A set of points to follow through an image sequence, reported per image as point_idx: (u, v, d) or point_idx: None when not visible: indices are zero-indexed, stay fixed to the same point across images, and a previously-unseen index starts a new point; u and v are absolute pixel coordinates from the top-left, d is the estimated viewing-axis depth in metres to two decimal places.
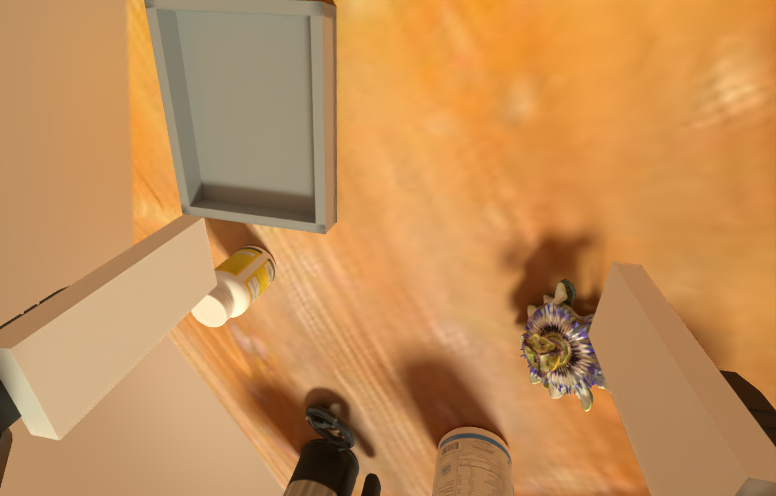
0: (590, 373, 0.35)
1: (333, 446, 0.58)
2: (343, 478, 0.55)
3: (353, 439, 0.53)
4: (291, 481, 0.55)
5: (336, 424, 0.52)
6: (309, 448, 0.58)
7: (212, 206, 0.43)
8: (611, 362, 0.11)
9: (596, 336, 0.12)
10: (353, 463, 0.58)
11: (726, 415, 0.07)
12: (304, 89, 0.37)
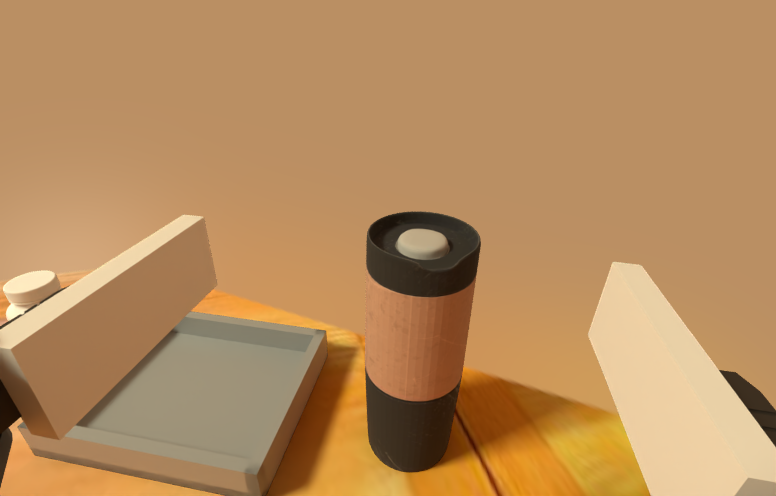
0: None
1: None
2: None
3: None
4: None
5: None
6: None
7: None
8: (611, 362, 0.11)
9: (596, 336, 0.12)
10: None
11: (726, 415, 0.07)
12: (197, 446, 0.33)
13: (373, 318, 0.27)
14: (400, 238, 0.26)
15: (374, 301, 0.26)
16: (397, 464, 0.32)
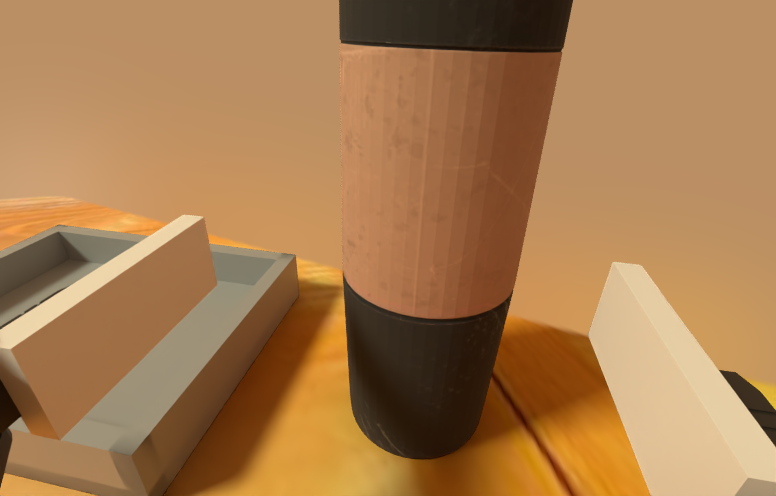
0: None
1: None
2: None
3: None
4: None
5: None
6: None
7: (37, 253, 0.30)
8: (611, 362, 0.11)
9: (596, 336, 0.12)
10: None
11: (726, 415, 0.07)
12: None
13: (352, 145, 0.14)
14: None
15: (353, 100, 0.13)
16: (397, 445, 0.19)
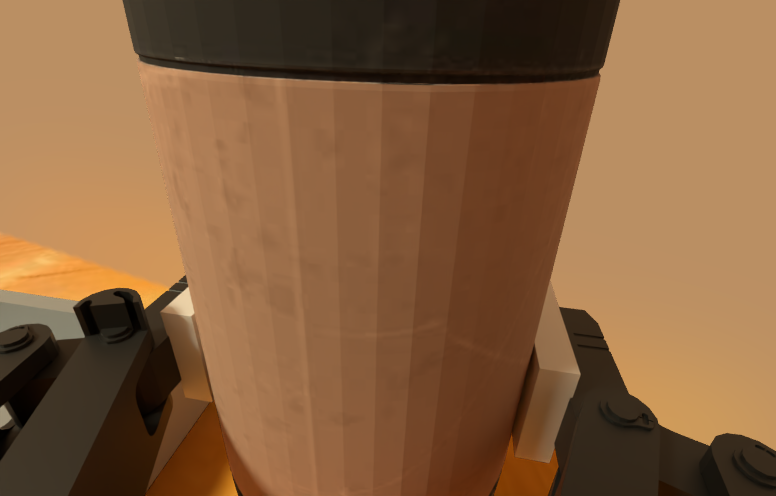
0: None
1: None
2: None
3: None
4: None
5: None
6: None
7: None
8: None
9: None
10: None
11: (546, 331, 0.09)
12: None
13: None
14: None
15: (163, 175, 0.06)
16: None
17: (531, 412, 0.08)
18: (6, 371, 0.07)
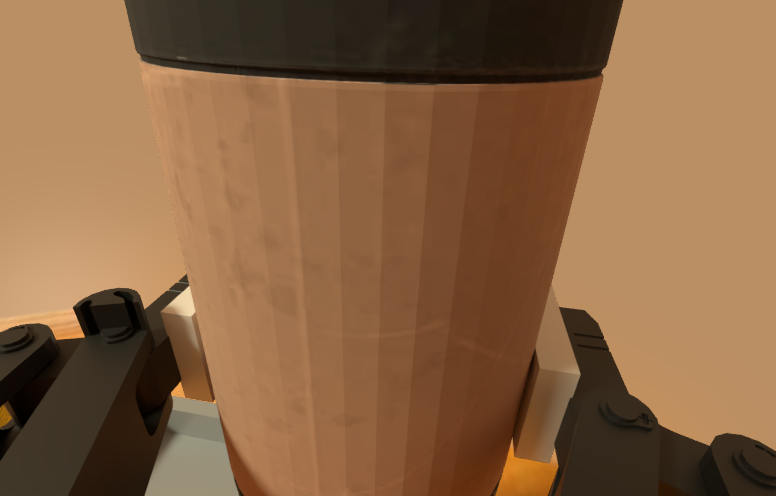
0: None
1: None
2: None
3: None
4: None
5: None
6: None
7: None
8: None
9: None
10: None
11: (546, 331, 0.09)
12: None
13: (183, 257, 0.07)
14: None
15: (164, 174, 0.06)
16: None
17: (531, 412, 0.08)
18: (6, 371, 0.07)
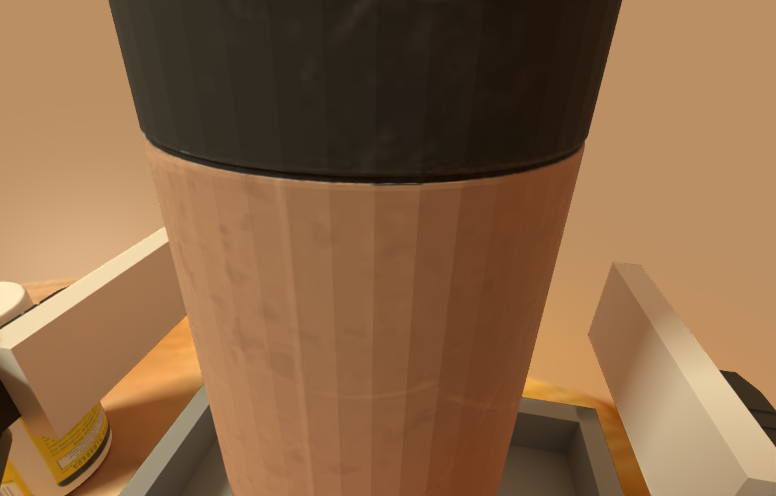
0: None
1: None
2: None
3: None
4: None
5: None
6: None
7: None
8: (611, 362, 0.11)
9: (596, 336, 0.12)
10: None
11: (726, 415, 0.07)
12: None
13: None
14: None
15: (168, 238, 0.06)
16: None
17: None
18: None
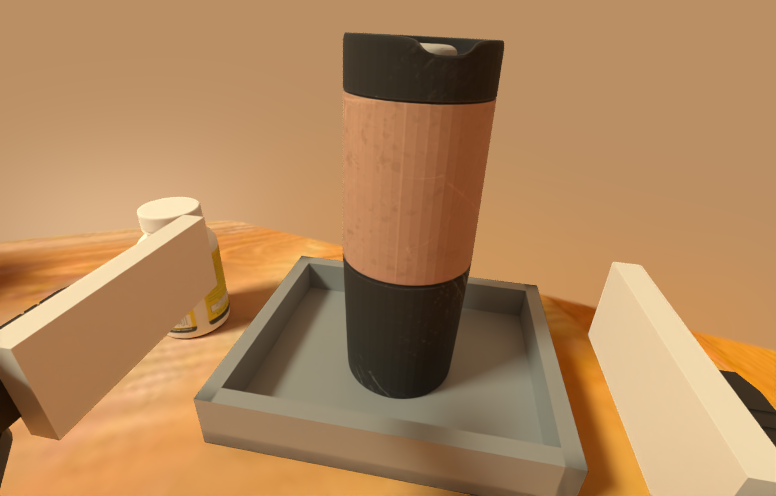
0: None
1: None
2: None
3: None
4: None
5: None
6: None
7: (300, 284, 0.33)
8: (611, 362, 0.11)
9: (596, 336, 0.12)
10: None
11: (726, 415, 0.07)
12: None
13: (351, 162, 0.19)
14: None
15: (352, 131, 0.19)
16: (384, 387, 0.25)
17: None
18: None
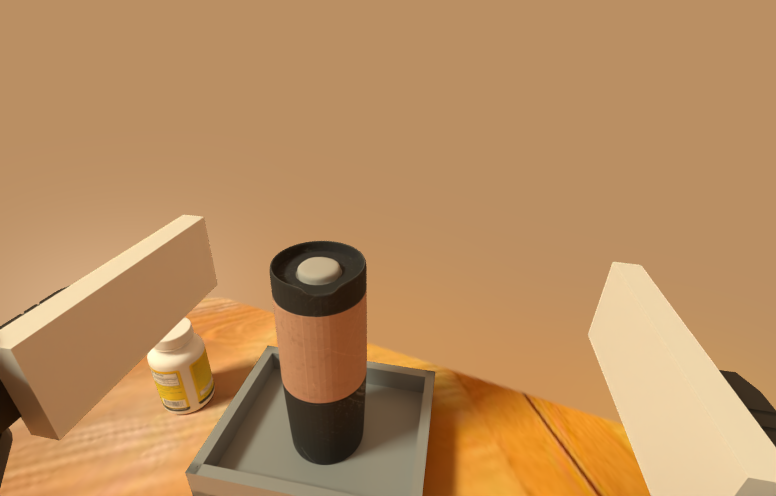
0: None
1: None
2: None
3: None
4: None
5: None
6: None
7: (265, 370, 0.46)
8: (611, 362, 0.11)
9: (596, 336, 0.12)
10: None
11: (726, 415, 0.07)
12: (344, 489, 0.36)
13: (278, 333, 0.32)
14: (299, 266, 0.31)
15: (277, 319, 0.31)
16: (312, 458, 0.37)
17: None
18: None
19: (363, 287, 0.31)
